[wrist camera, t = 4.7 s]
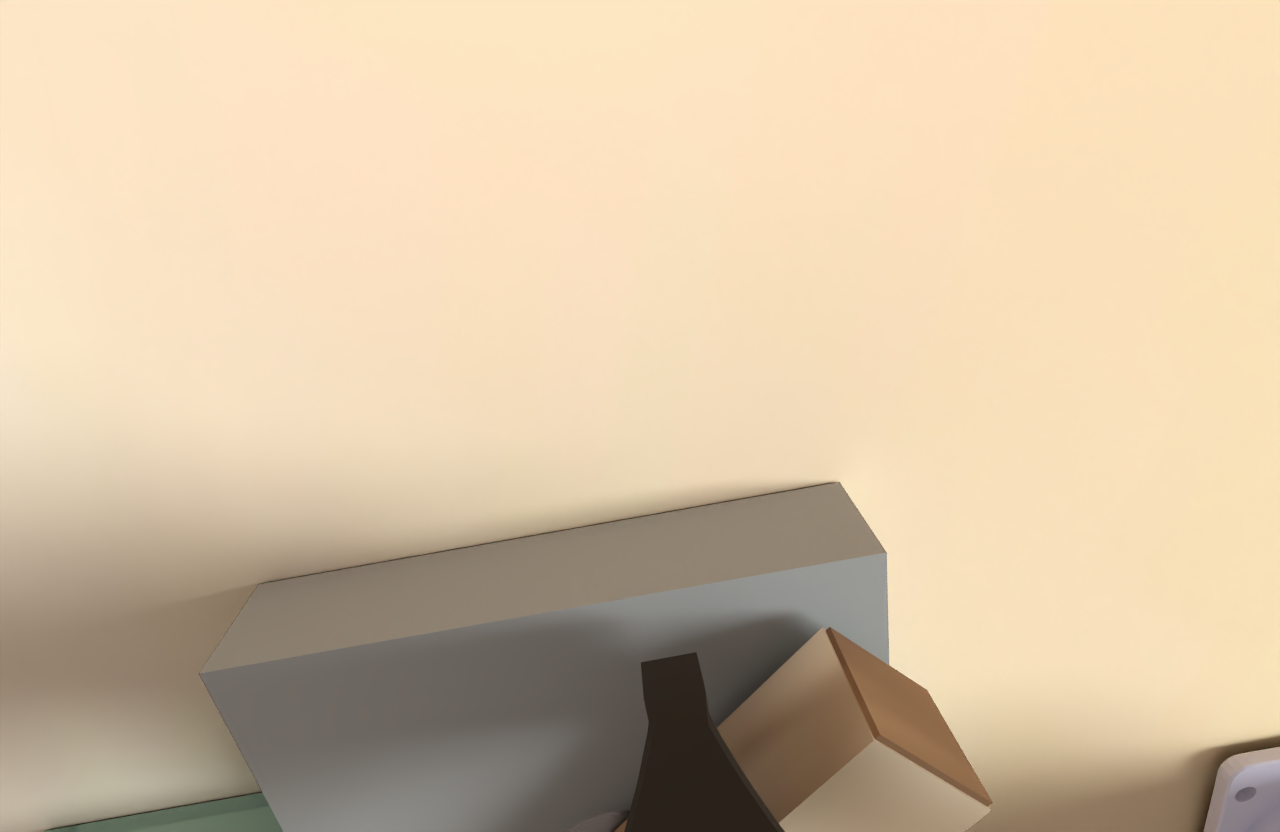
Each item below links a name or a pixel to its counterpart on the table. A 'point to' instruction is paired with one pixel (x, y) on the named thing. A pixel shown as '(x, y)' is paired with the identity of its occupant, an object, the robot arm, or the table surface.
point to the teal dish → (194, 818)
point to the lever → (851, 747)
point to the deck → (528, 661)
